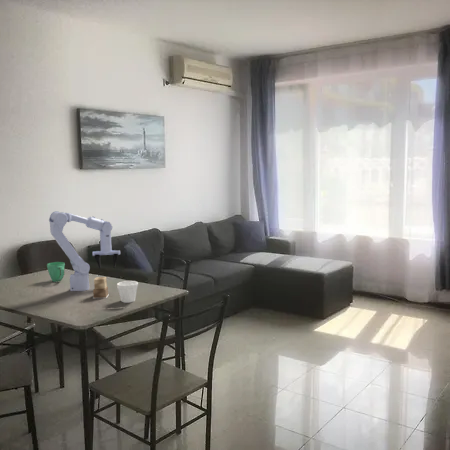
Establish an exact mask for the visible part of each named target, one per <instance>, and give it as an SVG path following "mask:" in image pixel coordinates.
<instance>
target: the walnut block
mask: <svg viewBox="0 0 450 450" xmlns="http://www.w3.org/2000/svg"><path fill="white" fill-rule="evenodd" d="M92 291H93V292H92V293H93V297H94V298H93V299H107V298H108V297H109V296H108V294H109V287H108V286H107V287H106V288H105V289H97V290H95V288H93V289H92ZM107 296H108V297H107ZM106 297H107V298H106Z"/></svg>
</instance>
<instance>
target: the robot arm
mask: <svg viewBox="0 0 450 450" xmlns="http://www.w3.org/2000/svg"><path fill="white" fill-rule="evenodd" d="M48 221H49V229H50V230H49V231H50V235H51V236H52V237H53V238H54V240H55V242H56V244H57V245H58V246H59V247H60V248H61V250H62V251H63V252H64V253H65V255H66V256H67V258H68V259H69V262H70V265H71V267H72V269H73V271H74V273H73V274H70V276H69V289H70V290H69V291H70V292H76V291H77V292H84V291H88V290H90V277H89V275H90V274H89V272H90V269H91V267H90V264H89V263H88V262H86V261H85V260H84V259H83V258H82V257H81V256H80V255H79V253H78V252H77V251H76V249H75V248H74V247H73V245H72V244H71V242H70V241H69V239H68V238H67V236H65V234H64V232H63V231H64V230H63V229H64V227H65V226H66V225H67V223H71V222H76V223H80V224H83V225H85V226H86V228H89V229H92V230H95V231H99V241H100V250H96V251H92V257H94V259H95V261H96V263H97V265H98V270H100V269H102V264H101V256H107V255H109V256H112V258H113V259H112V260H113V269H115V268H116V265H117V259H118V258H119V255H121V250H120V249H119V250H116V249H114V250H113V248H112V230H113V226H112V223H111V222H110V221H107V220H104V219H103V218H101V219H100V218H96V216H93V215H92V216H88V217H84V216H80V215H77V214H73V213H71V212H64V211H61V212H60V211H53V212H51V213H50V215H49V219H48Z"/></svg>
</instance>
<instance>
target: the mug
mask: <svg viewBox="0 0 450 450" xmlns="http://www.w3.org/2000/svg"><path fill="white" fill-rule="evenodd" d="M65 265H66V264H65V262H63V261H54V262H49V263H47V264H46V267H47V271H48V274H49V277H50V280H51V281H52V282H55V283H57V282H61V281H62V280H63V278H64V276H65Z"/></svg>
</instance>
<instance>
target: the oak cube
mask: <svg viewBox="0 0 450 450" xmlns="http://www.w3.org/2000/svg"><path fill="white" fill-rule="evenodd" d="M107 283H108V282H107V277H106V276H99V277H98V276H96V277H95V278H93V284H94V285H93V286H94V289H95V290H97V289H105V288H106V287H108V284H107Z"/></svg>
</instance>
